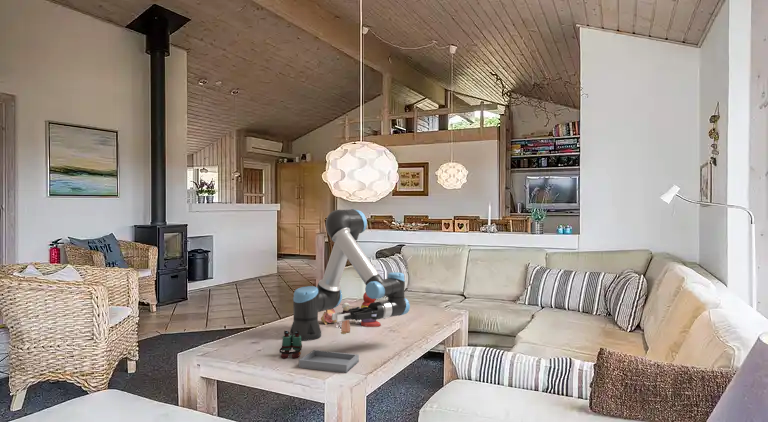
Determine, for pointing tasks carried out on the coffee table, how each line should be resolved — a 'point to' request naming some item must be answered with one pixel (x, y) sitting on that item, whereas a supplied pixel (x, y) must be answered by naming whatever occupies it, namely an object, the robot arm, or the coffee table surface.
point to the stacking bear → (369, 321)
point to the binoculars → (291, 345)
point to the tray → (329, 361)
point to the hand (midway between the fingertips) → (334, 317)
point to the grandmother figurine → (346, 324)
